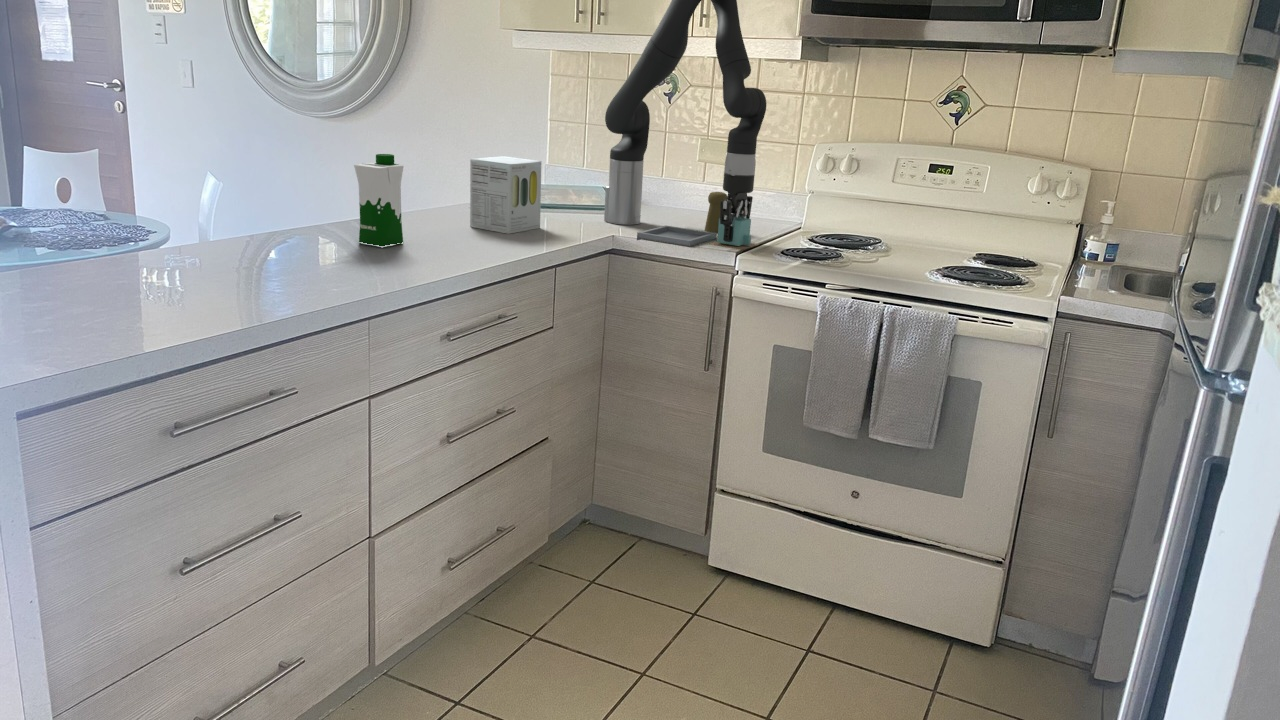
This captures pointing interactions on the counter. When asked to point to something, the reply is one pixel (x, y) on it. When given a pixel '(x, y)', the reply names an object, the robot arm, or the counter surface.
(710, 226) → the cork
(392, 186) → the milk carton
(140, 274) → the counter surface
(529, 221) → the supplement box
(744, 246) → the square board with knob
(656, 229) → the tray
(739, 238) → the open box
